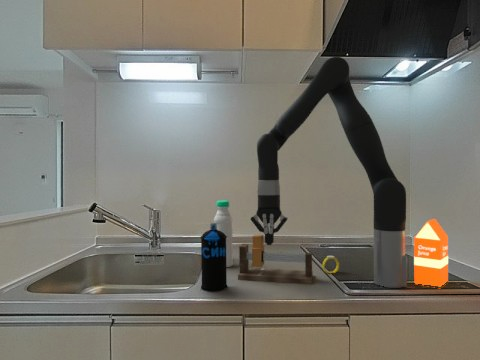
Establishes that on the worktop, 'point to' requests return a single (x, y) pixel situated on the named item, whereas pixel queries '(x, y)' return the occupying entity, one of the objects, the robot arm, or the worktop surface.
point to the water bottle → (225, 228)
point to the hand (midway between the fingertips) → (269, 244)
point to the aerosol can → (213, 259)
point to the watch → (325, 262)
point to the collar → (257, 250)
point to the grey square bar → (279, 257)
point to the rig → (274, 271)
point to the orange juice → (431, 255)
